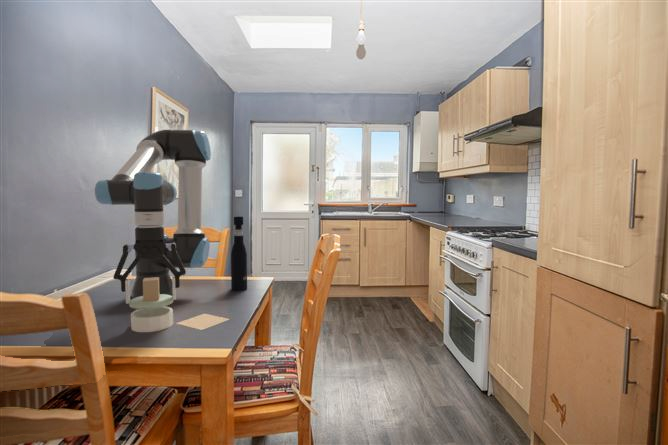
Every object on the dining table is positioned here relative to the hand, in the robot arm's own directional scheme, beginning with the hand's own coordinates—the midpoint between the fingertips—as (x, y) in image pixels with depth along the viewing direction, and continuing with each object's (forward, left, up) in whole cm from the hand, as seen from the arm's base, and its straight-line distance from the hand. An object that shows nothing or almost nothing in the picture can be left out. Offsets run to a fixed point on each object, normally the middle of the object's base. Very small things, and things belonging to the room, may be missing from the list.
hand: (151, 300), depth 114 cm
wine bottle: (-11, +48, -9) cm, 50 cm away
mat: (+10, +10, -8) cm, 16 cm away
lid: (0, 0, -1) cm, 1 cm away
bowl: (0, 0, -8) cm, 8 cm away
